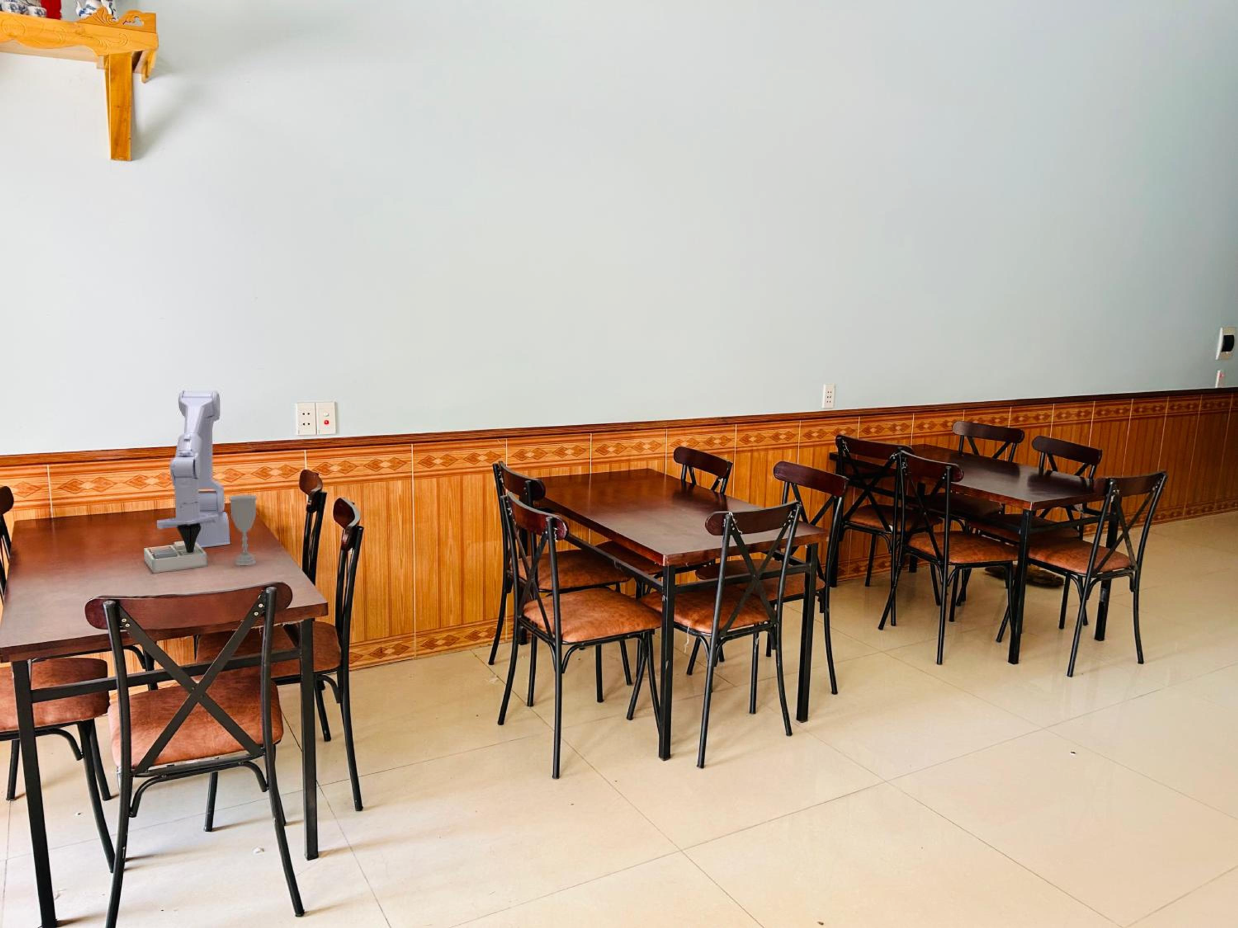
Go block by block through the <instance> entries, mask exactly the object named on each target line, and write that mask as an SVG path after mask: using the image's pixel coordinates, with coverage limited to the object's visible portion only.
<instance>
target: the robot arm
mask: <svg viewBox="0 0 1238 928" xmlns="http://www.w3.org/2000/svg"><path fill="white" fill-rule="evenodd" d="M177 403H178V409H179V411H180V412H181V415H182V417H184V430H183V433H182V434H180V435H179V437H178V441H177V445H176V451H175V456H174V458H171V460H170V462H169V463H170V464H169V472H170V477H171V484H172V486H173V491H174V503H175V517H172V518H166V519H159V520H156V526H157V529H158V530H163V529H168V528H176V529H177V531H178V533H179V534H180V537H181V538H182V541H184V544H185V547H186V551H187V553H192V552H194V546H195V542H197V543H198V544H199V546H200V547H201V548H202V549H203V548H208V547H218V546H226V545H230V544H231V542H230V541H231V540H230V523H229V517H228V513H227V512H225V511H224V510H225V504H226V499H225V498H226V497H225V489H224V486H223V485H222V483H220V482H219V481H216V480H215V479H214V468H213V461H214V460H213V459H214V458H213V427H214V423H215V422H216V421H218V420H220V417H221V398H220V393H218V391H217V390H211V391H209V390H208V391H205V390H199V391H197V390H194V391H193V390H181V391H180V392H179V394H178V402H177Z"/></svg>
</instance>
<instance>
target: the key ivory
mask: <svg viewBox="0 0 1238 928" xmlns="http://www.w3.org/2000/svg"><path fill="white" fill-rule="evenodd" d="M173 545H174V548H175V549H176V550H183V549H186V547H185V544H184V541H183V540H180V541H174V542H173ZM194 548H196V543H195V546H194Z"/></svg>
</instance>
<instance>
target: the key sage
mask: <svg viewBox="0 0 1238 928" xmlns="http://www.w3.org/2000/svg"><path fill="white" fill-rule="evenodd" d="M179 554H180V556H185V555H193V554H201V552H200V551H199V550H198V549H194V552H192V553H187V551H186V550H181V551H179Z"/></svg>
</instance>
